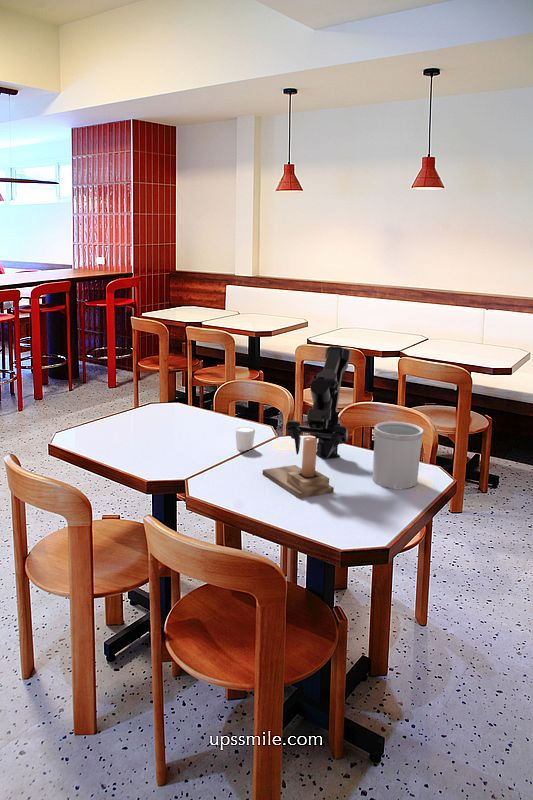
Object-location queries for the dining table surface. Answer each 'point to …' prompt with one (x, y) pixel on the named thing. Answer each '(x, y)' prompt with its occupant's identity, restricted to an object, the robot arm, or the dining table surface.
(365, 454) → the dining table surface
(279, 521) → the dining table surface
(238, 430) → the white cup
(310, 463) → the plug
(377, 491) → the dining table surface
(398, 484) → the utensil holder
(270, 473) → the wooden socket base
